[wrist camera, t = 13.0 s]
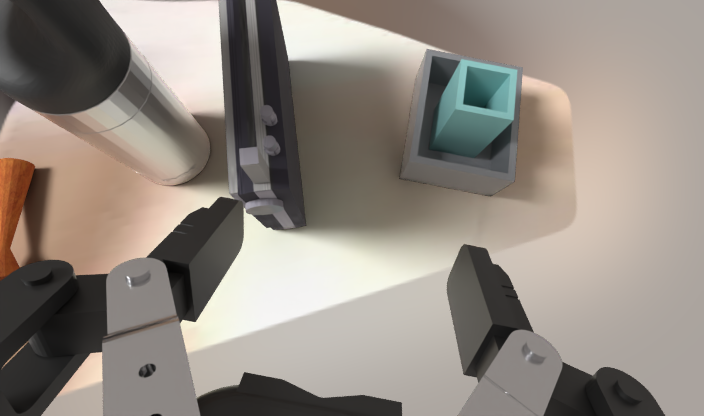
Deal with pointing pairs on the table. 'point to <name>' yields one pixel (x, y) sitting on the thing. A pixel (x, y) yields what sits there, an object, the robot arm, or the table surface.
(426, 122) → the big crate
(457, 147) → the box
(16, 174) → the kendama
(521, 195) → the table surface
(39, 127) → the table surface
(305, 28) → the table surface
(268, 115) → the radio
